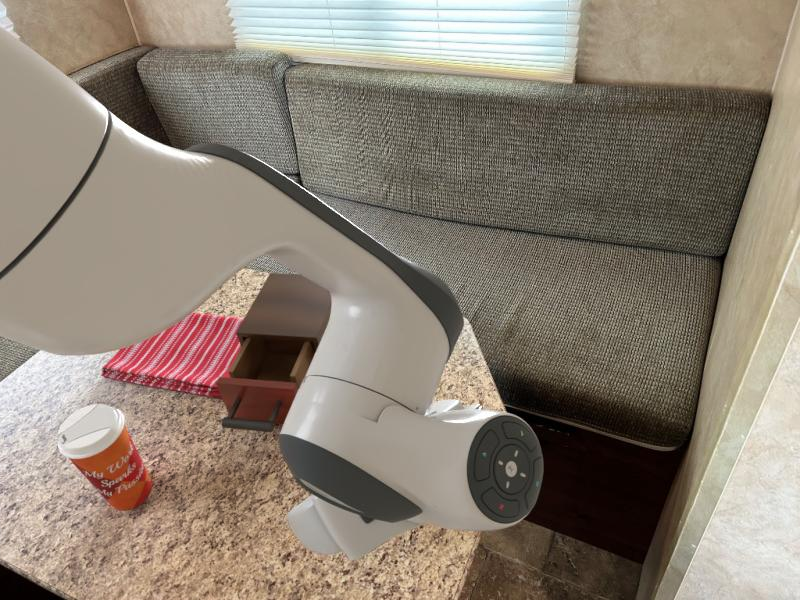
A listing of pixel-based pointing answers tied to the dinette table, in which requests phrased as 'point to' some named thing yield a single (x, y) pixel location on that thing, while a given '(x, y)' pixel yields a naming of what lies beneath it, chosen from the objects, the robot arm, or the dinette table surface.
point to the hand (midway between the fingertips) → (358, 468)
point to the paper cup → (105, 455)
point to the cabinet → (288, 310)
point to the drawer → (264, 382)
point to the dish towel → (181, 356)
